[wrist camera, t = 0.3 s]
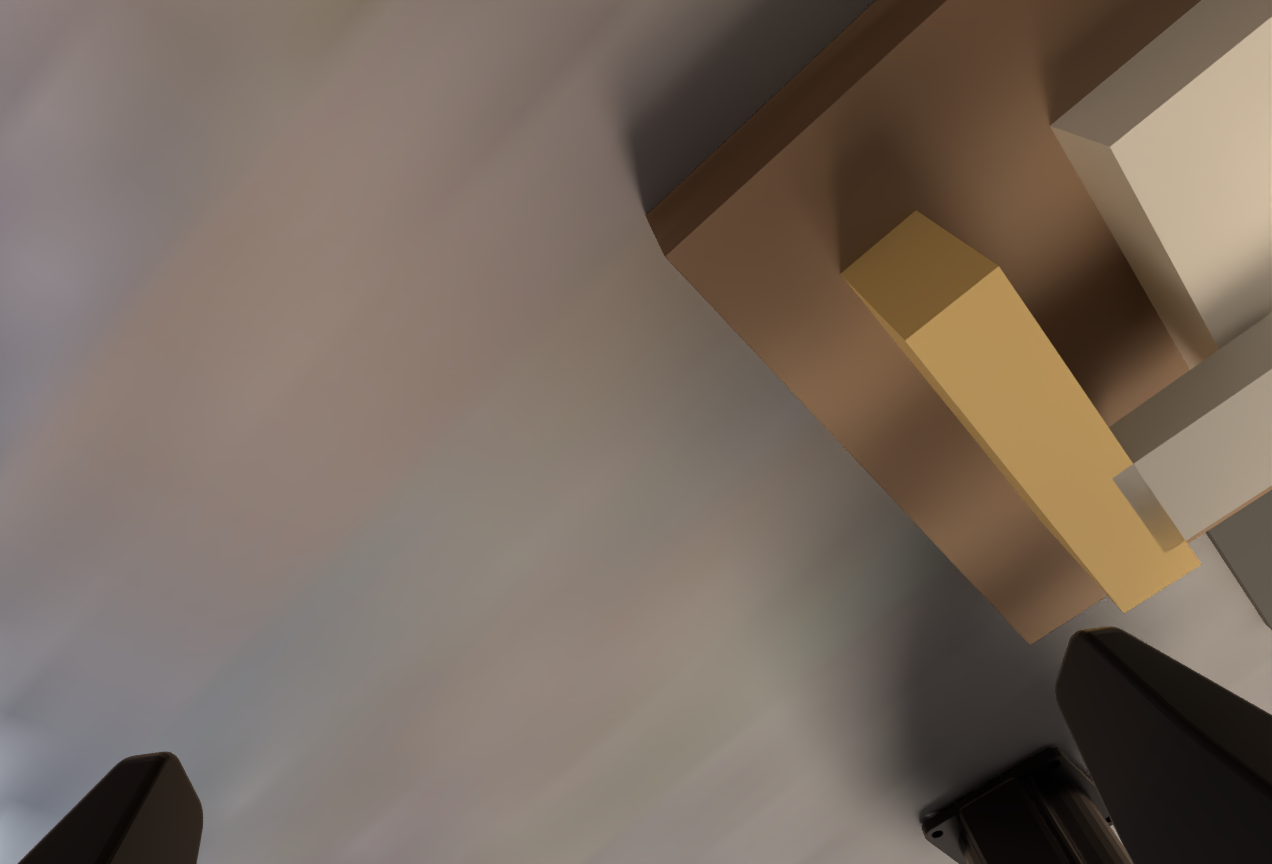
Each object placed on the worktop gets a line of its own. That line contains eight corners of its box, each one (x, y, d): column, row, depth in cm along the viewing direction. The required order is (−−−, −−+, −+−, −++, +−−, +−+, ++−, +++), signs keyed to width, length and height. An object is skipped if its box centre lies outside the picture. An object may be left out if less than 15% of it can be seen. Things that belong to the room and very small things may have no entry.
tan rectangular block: (1267, 370, 21) (1392, 443, 18) (1043, 523, 23) (1123, 613, 20) (1104, 51, 16) (1237, 76, 13) (840, 274, 18) (905, 340, 15)
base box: (1498, 228, 23) (1620, 264, 21) (982, 579, 28) (1030, 645, 25) (1321, -417, 15) (1482, -488, 13) (645, 215, 20) (665, 256, 17)
